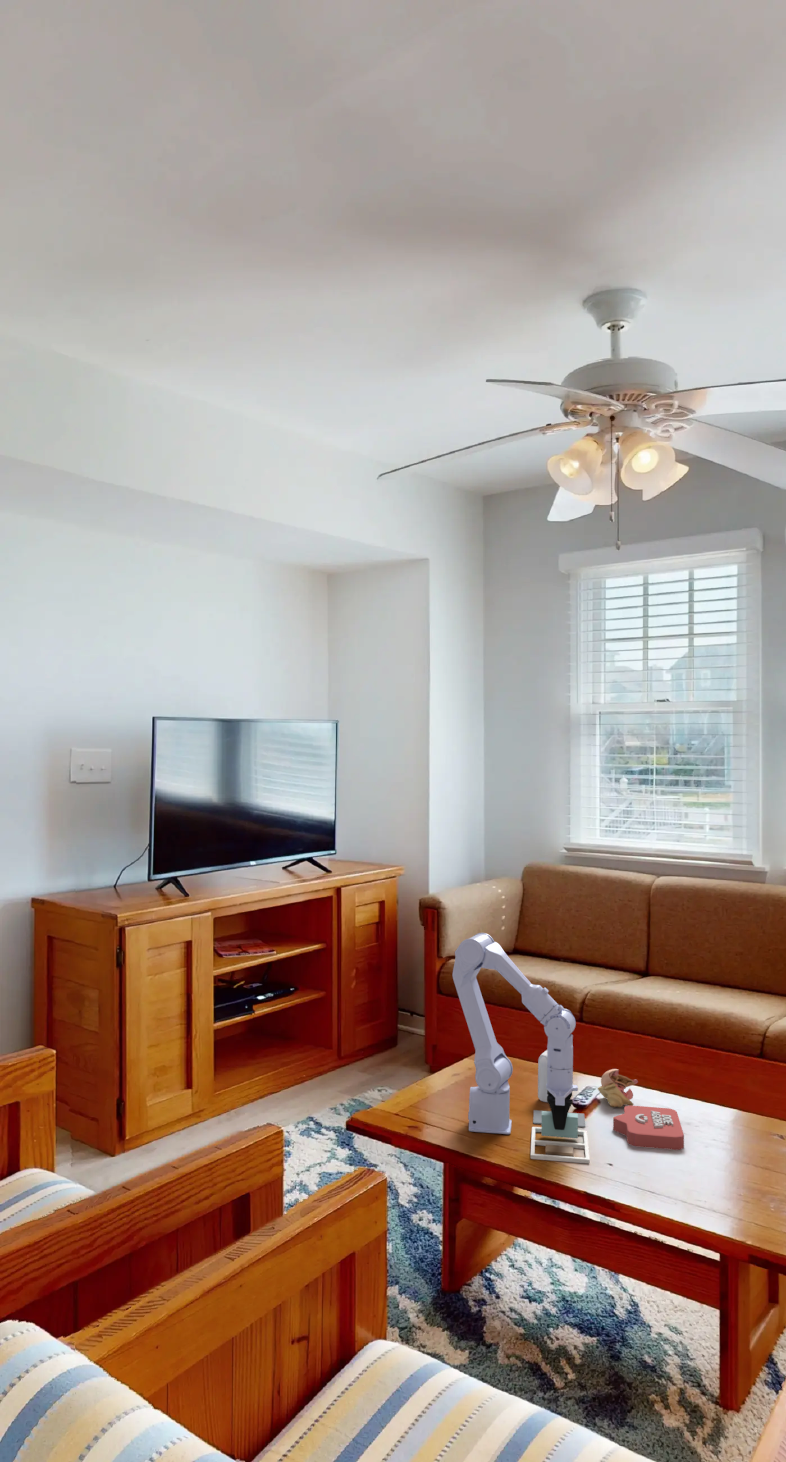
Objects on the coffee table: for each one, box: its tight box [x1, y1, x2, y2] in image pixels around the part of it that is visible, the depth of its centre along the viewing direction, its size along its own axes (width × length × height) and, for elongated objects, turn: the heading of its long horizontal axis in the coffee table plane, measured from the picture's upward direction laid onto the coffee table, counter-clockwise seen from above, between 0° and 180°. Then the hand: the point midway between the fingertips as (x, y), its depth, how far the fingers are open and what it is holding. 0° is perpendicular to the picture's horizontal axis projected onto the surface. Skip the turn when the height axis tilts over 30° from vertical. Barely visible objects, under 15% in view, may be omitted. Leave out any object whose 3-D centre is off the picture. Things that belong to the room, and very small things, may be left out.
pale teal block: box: [540, 1110, 579, 1139], centre depth 216 cm, size 8×2×5 cm, turn 81°
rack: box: [530, 1126, 591, 1164], centre depth 212 cm, size 12×16×1 cm
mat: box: [532, 1109, 586, 1129], centre depth 227 cm, size 12×8×1 cm, turn 81°
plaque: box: [612, 1105, 685, 1151], centre depth 220 cm, size 18×4×15 cm
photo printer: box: [537, 1049, 548, 1103], centre depth 243 cm, size 10×4×12 cm, turn 134°
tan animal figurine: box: [597, 1068, 639, 1108], centre depth 239 cm, size 9×10×10 cm
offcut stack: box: [544, 1145, 575, 1157], centre depth 208 cm, size 6×4×2 cm, turn 80°
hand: (559, 1126), depth 216 cm, fingers closed on pale teal block, 2 cm apart
